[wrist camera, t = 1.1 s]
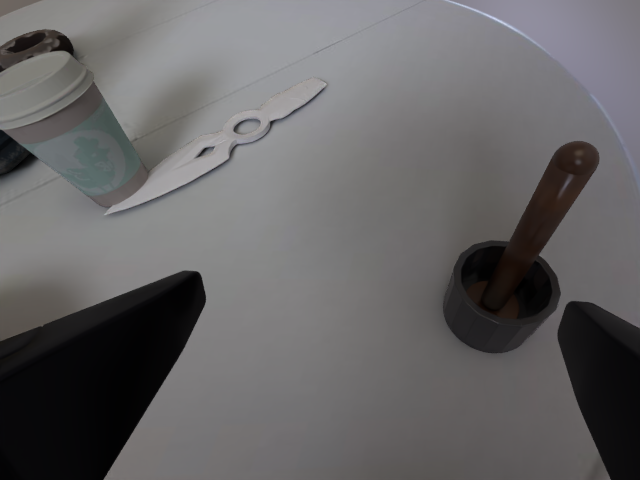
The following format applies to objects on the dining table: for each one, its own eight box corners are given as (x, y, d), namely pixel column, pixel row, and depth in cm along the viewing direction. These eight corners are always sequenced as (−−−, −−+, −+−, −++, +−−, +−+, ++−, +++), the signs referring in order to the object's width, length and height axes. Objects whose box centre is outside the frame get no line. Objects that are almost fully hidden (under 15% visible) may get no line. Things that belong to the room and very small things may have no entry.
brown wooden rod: (524, 326, 22) (665, 164, 11) (475, 338, 22) (567, 189, 11) (498, 282, 24) (596, 108, 13) (453, 294, 24) (513, 129, 13)
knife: (336, 92, 40) (336, 86, 40) (117, 234, 32) (111, 229, 31) (304, 77, 44) (303, 70, 43) (96, 202, 35) (90, 197, 34)
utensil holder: (549, 341, 21) (583, 311, 18) (464, 362, 21) (481, 337, 18) (504, 269, 25) (524, 231, 21) (430, 287, 25) (439, 252, 21)
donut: (48, 48, 62) (30, 24, 59) (93, 51, 58) (76, 26, 55) (-7, 83, 57) (-30, 59, 53) (39, 90, 53) (17, 64, 49)
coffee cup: (70, 225, 34) (-59, 117, 24) (99, 168, 39) (3, 62, 30) (151, 208, 33) (48, 89, 23) (169, 152, 38) (91, 37, 29)
